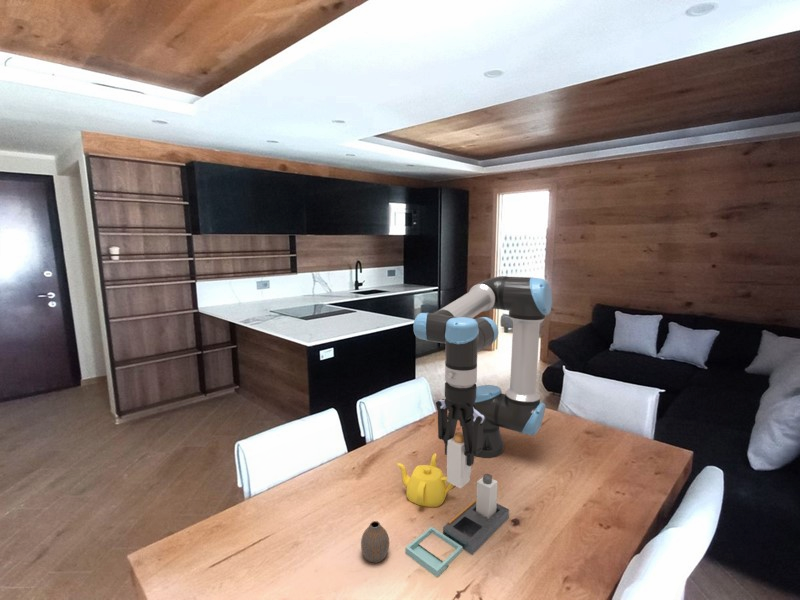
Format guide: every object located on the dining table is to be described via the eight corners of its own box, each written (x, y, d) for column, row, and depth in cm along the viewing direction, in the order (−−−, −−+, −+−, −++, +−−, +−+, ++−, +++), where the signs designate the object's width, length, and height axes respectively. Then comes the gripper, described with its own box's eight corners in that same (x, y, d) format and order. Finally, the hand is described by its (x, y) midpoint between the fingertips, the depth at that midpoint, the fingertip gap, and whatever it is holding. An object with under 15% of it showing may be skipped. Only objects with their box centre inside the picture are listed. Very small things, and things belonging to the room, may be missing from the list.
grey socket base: (442, 539, 102) (443, 525, 101) (480, 505, 115) (481, 493, 114) (472, 558, 96) (472, 544, 95) (508, 521, 108) (509, 508, 108)
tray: (405, 554, 97) (405, 547, 96) (431, 533, 104) (431, 526, 103) (437, 578, 90) (437, 571, 89) (462, 554, 97) (462, 546, 97)
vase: (361, 546, 99) (360, 515, 98) (388, 544, 100) (388, 513, 98) (361, 568, 92) (360, 535, 91) (390, 566, 93) (390, 533, 92)
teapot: (435, 479, 127) (435, 451, 125) (457, 505, 115) (458, 474, 113) (396, 490, 121) (396, 461, 120) (415, 518, 109) (416, 486, 108)
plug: (447, 481, 98) (447, 435, 96) (456, 474, 101) (457, 429, 99) (460, 488, 95) (461, 440, 93) (469, 481, 98) (470, 434, 96)
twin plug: (475, 518, 108) (477, 476, 106) (483, 510, 111) (485, 470, 109) (488, 525, 105) (490, 482, 103) (496, 517, 108) (497, 476, 106)
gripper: (423, 377, 97) (423, 464, 101) (482, 397, 85) (479, 494, 89) (442, 370, 102) (441, 452, 106) (500, 387, 90) (496, 479, 94)
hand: (458, 471), depth 97 cm, fingers closed on plug, 4 cm apart
